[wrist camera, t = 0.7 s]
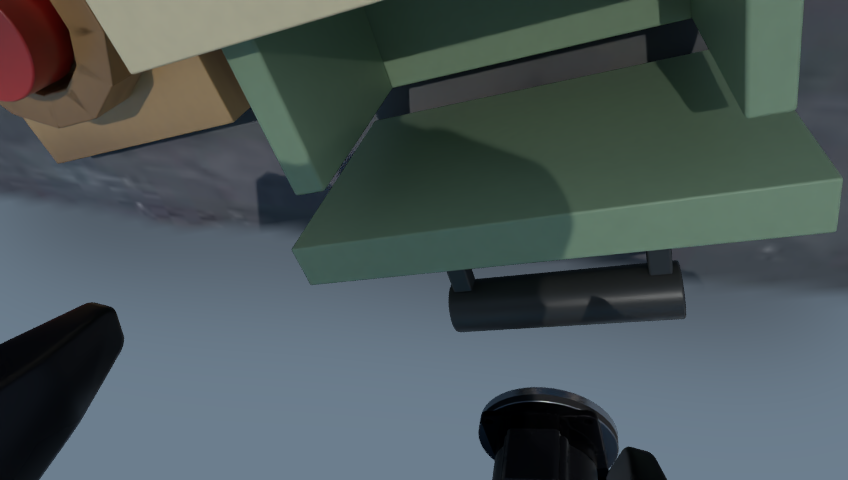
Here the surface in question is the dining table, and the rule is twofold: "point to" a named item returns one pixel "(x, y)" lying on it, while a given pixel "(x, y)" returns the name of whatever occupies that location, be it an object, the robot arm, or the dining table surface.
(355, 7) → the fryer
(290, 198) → the dining table surface
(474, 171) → the drawer
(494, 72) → the dining table surface
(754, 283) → the dining table surface
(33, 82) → the red button
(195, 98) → the control block
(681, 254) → the dining table surface
